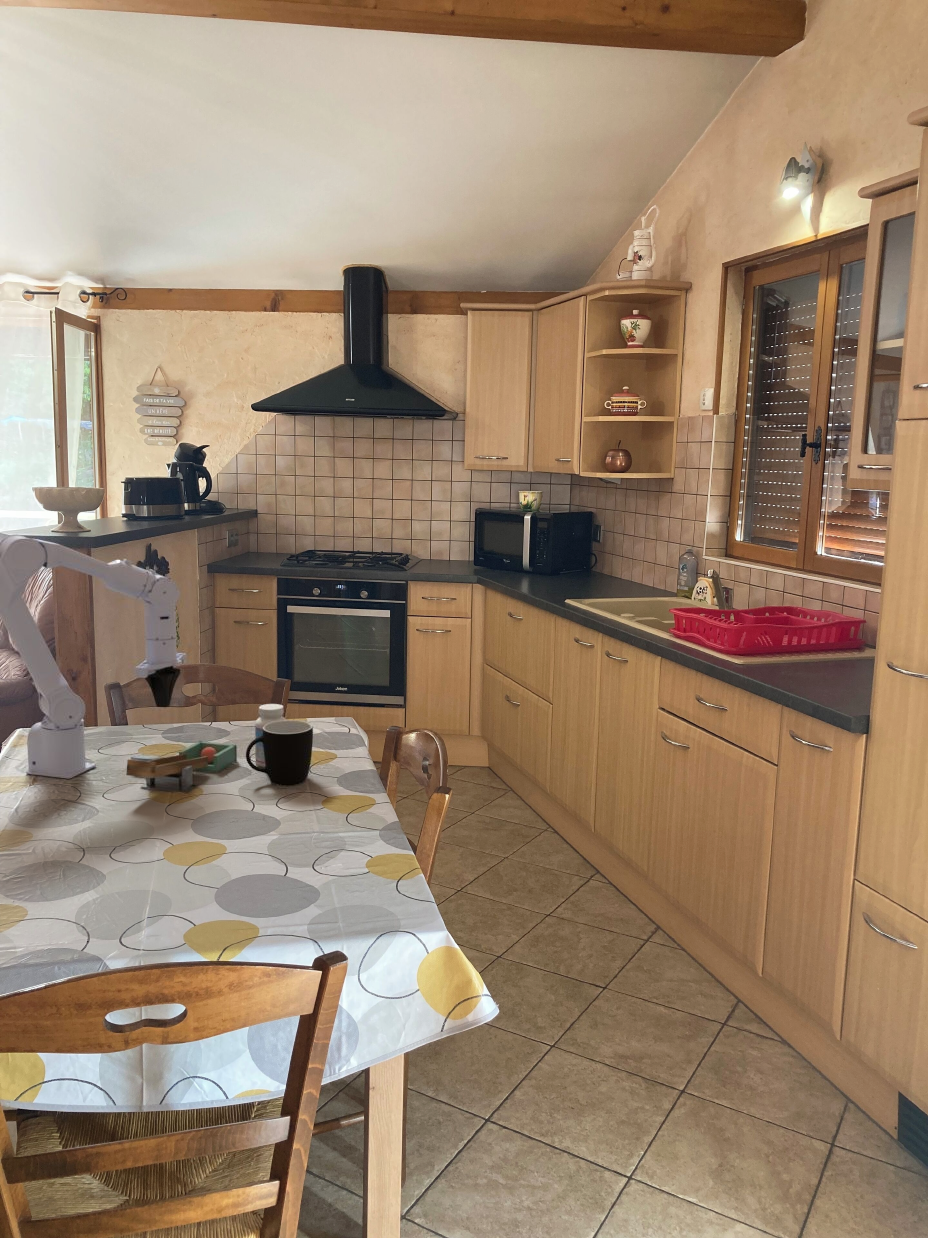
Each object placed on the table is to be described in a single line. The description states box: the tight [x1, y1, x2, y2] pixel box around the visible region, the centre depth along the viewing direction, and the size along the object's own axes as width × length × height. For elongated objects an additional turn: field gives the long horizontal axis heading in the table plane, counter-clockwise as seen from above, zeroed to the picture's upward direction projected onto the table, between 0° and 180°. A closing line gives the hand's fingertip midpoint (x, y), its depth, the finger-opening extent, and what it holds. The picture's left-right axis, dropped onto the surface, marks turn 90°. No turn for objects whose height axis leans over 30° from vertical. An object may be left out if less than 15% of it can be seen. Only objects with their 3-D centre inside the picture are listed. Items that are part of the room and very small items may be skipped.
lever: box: [126, 754, 208, 778], centre depth 167 cm, size 14×18×3 cm
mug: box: [245, 719, 314, 787], centre depth 171 cm, size 12×9×10 cm
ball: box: [201, 747, 217, 763], centre depth 180 cm, size 3×3×3 cm
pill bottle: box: [254, 703, 287, 768], centre depth 181 cm, size 6×6×11 cm
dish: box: [178, 740, 238, 773], centre depth 180 cm, size 8×7×3 cm
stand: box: [140, 766, 199, 794], centre depth 167 cm, size 9×4×4 cm, turn 75°
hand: (163, 706), depth 183 cm, fingers closed
